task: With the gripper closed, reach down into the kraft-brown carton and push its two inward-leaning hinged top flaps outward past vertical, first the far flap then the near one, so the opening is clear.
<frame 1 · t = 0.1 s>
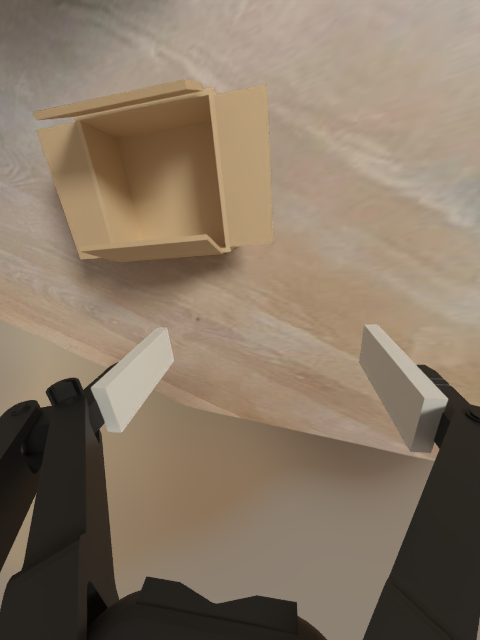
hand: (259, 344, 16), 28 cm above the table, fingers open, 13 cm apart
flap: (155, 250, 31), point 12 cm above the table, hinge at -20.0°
carton: (179, 193, 39), on the table
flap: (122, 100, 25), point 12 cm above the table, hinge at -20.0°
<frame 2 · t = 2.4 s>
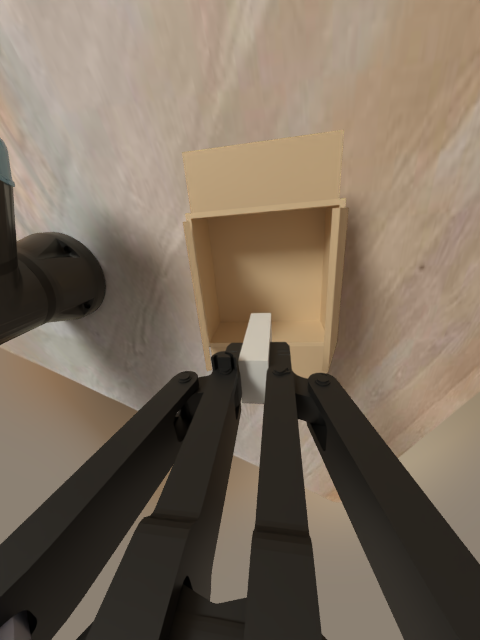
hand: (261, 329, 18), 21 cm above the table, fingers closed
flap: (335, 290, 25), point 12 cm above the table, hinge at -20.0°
carton: (266, 271, 37), on the table
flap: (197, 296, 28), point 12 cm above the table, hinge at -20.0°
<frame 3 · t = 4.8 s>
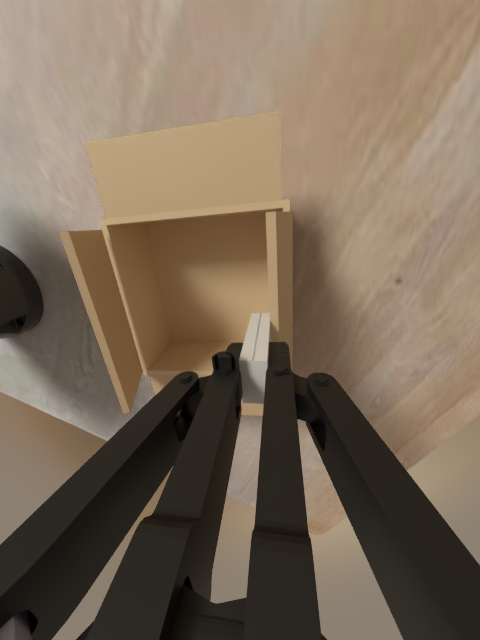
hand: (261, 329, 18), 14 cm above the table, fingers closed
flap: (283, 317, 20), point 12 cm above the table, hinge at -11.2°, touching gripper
carton: (219, 284, 32), on the table
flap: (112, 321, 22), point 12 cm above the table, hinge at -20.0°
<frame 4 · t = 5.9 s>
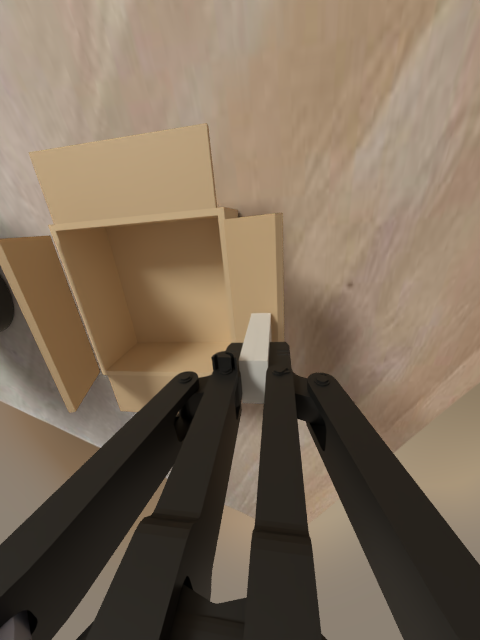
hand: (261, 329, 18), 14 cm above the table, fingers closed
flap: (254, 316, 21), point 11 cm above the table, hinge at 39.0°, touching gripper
carton: (179, 287, 33), on the table
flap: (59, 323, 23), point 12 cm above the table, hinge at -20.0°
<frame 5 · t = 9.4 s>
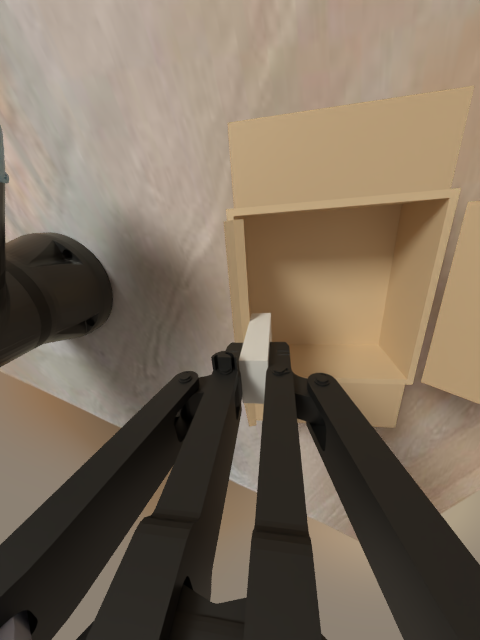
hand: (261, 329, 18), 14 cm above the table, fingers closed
carton: (315, 283, 30), on the table
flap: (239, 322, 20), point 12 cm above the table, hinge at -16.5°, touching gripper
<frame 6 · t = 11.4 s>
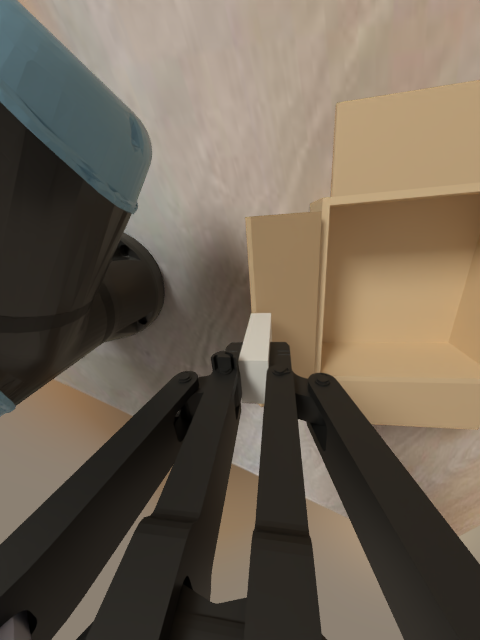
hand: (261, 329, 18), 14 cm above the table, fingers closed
carton: (385, 279, 28), on the table
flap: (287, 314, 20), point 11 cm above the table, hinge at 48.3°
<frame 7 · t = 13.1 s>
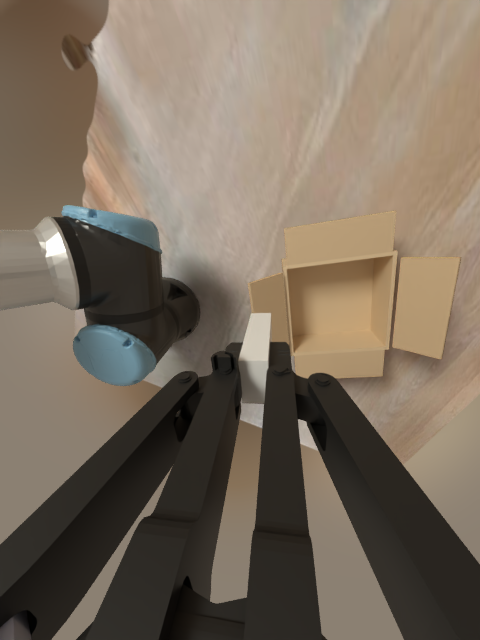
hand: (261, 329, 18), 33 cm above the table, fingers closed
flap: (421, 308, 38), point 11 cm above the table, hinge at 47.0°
carton: (328, 296, 50), on the table
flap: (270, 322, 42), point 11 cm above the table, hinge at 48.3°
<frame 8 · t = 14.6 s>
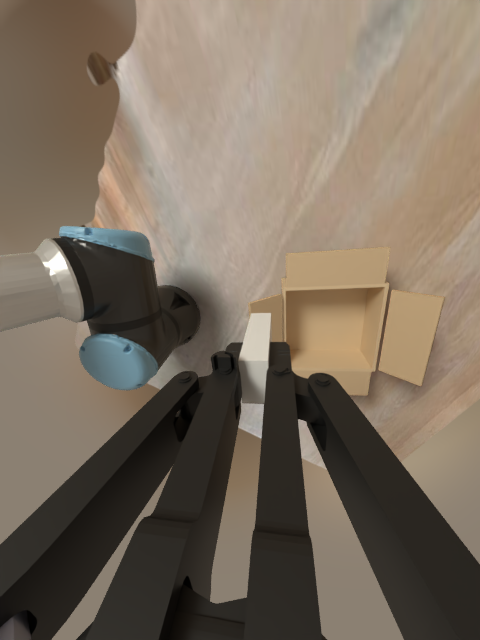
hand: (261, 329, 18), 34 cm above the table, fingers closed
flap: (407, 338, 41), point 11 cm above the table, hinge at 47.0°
carton: (323, 315, 53), on the table
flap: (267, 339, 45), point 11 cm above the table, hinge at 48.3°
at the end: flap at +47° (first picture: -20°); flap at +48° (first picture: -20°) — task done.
